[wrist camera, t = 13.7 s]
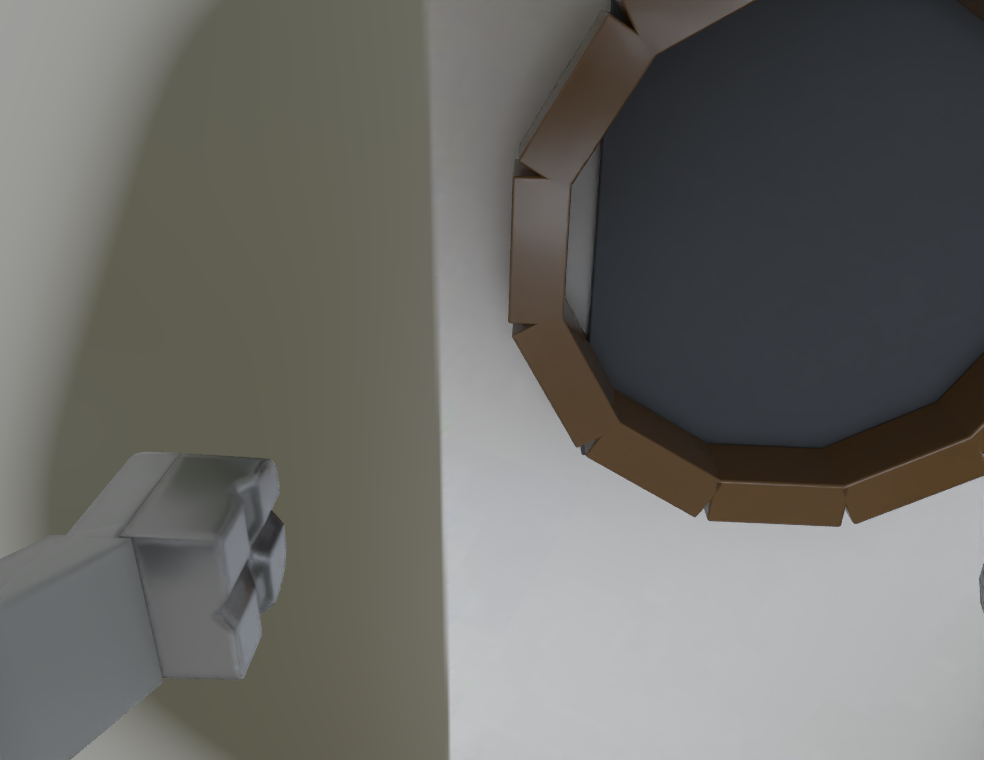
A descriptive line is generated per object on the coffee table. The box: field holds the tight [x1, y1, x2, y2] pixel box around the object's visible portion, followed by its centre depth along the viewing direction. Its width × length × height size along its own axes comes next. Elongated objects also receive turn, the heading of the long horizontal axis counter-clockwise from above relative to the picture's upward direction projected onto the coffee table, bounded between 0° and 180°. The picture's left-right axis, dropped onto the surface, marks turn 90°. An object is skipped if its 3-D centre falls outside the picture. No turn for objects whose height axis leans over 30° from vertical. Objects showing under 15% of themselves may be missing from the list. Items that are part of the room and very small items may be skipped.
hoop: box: [508, 0, 984, 527], centre depth 24 cm, size 18×18×2 cm
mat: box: [581, 0, 984, 455], centre depth 26 cm, size 16×13×1 cm
